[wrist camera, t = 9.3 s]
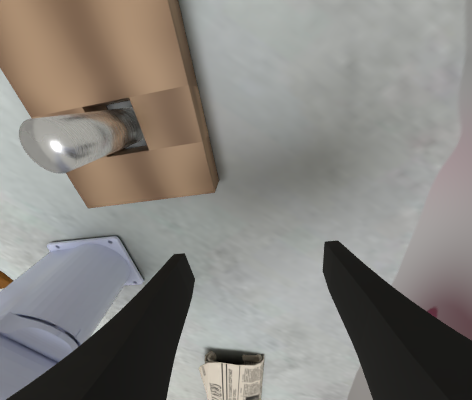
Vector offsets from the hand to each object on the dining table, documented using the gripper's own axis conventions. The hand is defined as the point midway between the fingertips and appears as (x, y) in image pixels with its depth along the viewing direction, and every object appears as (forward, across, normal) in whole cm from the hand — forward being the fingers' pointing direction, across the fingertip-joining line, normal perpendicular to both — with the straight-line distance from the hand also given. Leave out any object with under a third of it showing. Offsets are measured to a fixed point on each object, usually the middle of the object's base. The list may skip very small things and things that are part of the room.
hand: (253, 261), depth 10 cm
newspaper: (+10, +10, +48) cm, 50 cm away
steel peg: (+9, +9, -7) cm, 15 cm away
